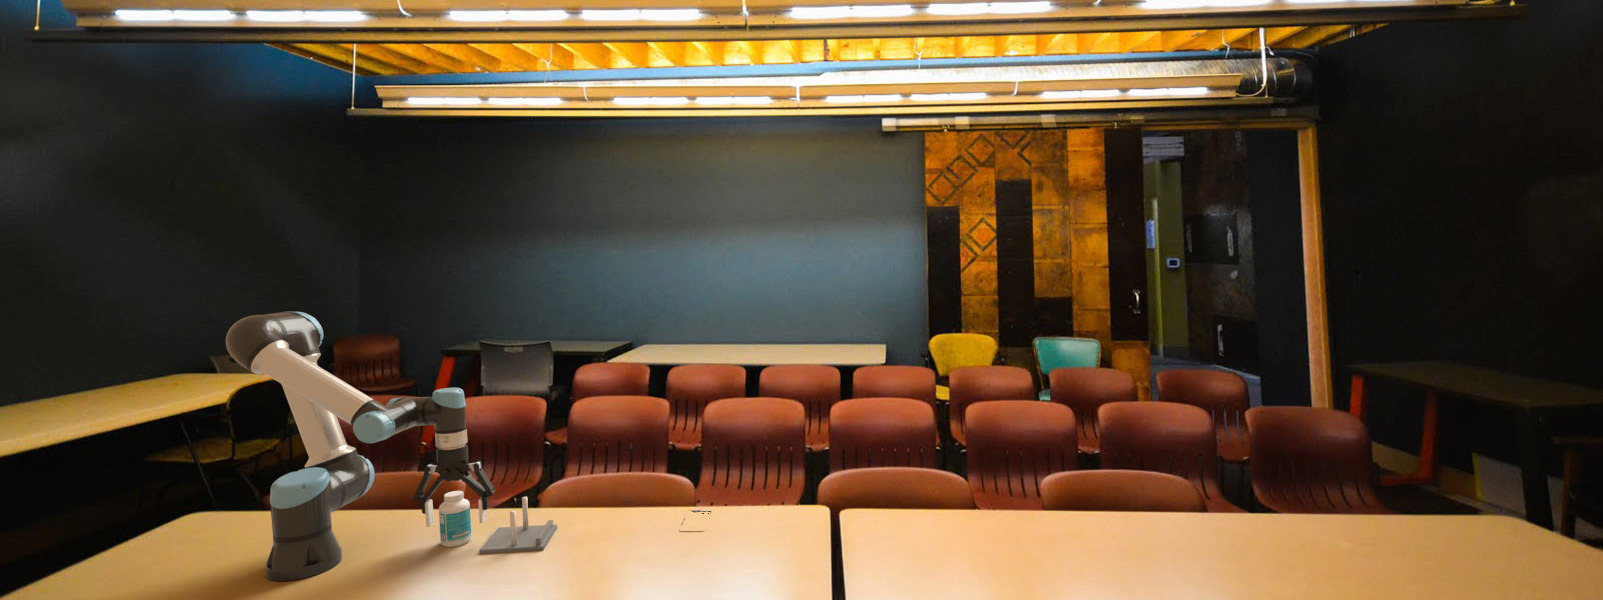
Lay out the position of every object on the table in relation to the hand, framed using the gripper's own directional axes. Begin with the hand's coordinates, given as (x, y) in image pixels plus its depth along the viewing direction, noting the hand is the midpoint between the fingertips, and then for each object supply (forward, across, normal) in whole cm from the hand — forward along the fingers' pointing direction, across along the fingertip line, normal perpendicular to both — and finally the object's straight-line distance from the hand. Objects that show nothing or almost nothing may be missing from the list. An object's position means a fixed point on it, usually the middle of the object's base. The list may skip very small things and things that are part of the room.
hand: (456, 523), depth 175 cm
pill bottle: (+6, 0, 0) cm, 6 cm away
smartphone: (+7, +64, +6) cm, 64 cm away
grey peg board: (+6, +17, -1) cm, 18 cm away
